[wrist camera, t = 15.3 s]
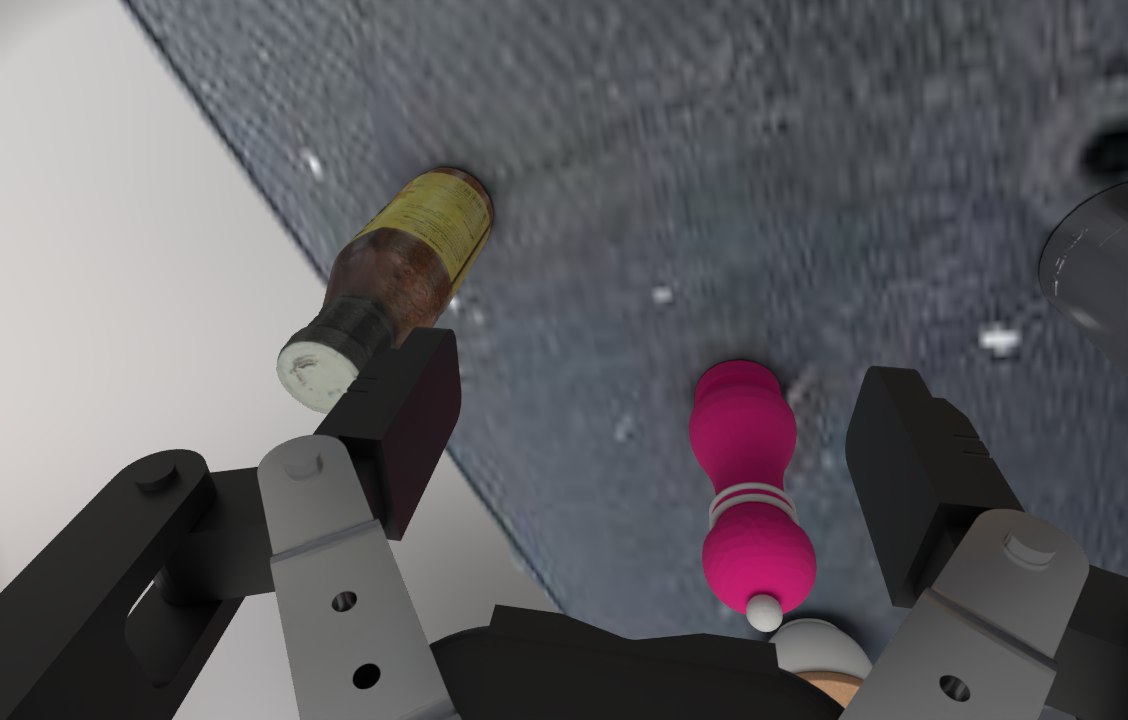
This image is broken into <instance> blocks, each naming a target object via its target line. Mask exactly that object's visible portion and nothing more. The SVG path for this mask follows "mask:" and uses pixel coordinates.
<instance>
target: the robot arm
mask: <svg viewBox="0 0 1128 720" xmlns="http://www.w3.org/2000/svg"><path fill="white" fill-rule="evenodd" d="M1039 279H1040V283H1041V287H1042V290H1043V292H1044V294H1045V296H1046V297H1047V299H1048V301H1049V302H1051V303H1052V304H1053V305H1054V306H1055V307H1056V308H1057V309H1058V310H1059V311H1060V312H1061V313H1062V314H1063V315H1064V316H1065V317H1066V318H1067V319H1068V320H1069V321H1070V322H1071V323H1072V324H1073V325H1074V326H1075V327H1076V328H1077V329H1078V330H1079V331H1080V332H1081V333H1082V334H1083V335H1084V336H1085V337H1086V338H1087V339H1088V340H1089V341H1090V342H1091V343H1092V344H1093V345H1094V346H1095V347H1096V348H1097V349H1098V350H1099V351H1101V352H1102V353H1103V354H1104V355H1105V356H1106V357H1107V358H1108V359H1109V360H1110V361H1111V362H1112V363H1113V364H1114V365H1115V366H1116V367H1117V368H1118V369H1119V370H1120V371H1121V372H1122V373H1123V374H1124V375H1125V376H1126V377H1127V378H1128V183H1125V184H1122V185H1119V186H1116V187H1114V188H1112V189H1109V190H1107V191H1105V192H1103V193H1101V194H1099V195H1097V196H1095V197H1094V198H1092V199H1091V200H1089V201H1087V202H1086V203H1084V204H1083V205H1081V206H1080V207H1079V208H1078V209H1076V210H1075V211H1074V212H1073V213H1072V214H1071V215H1069V216H1068V217H1067V218H1066V219H1065V220H1064V221H1063V222H1062V224H1061V225H1060V226H1059V227H1058V228H1057V230H1056V231H1055V232H1054V233H1053V235H1052V236H1051V238H1050V240H1049V242H1048V243H1047V245H1046V247H1045V249H1044V252H1043V255H1042V258H1041V261H1040V271H1039ZM460 408H461V384H460V374H459V364H458V354H457V344H456V337H455V334H454V331H453V330H451V329H441V328H430V327H418V326H417V327H414V328H413V329H412V331H411V332H410V334H409V335H408V337H407V338H406V339H405V341H404V342H403V344H402V345H401V346H400V348H399V349H394V348H388V349H386V350H385V351H383V352H381V353H380V354H378V355H377V356H375V357H374V358H372V359H370V360H369V361H368V362H367V363H366V365H365V366H364V367H363V369H362V370H361V371H360V372H359V374H358V375H357V376H356V380H353V382H352V383H351V384H350V386H349V387H348V388H347V392H346V393H344V394H343V395H342V396H341V398H340V399H339V400H338V402H337V403H336V404H335V405H334V407H333V408H332V409H331V411H330V412H329V413H328V415H327V416H326V417H325V419H324V420H323V421H322V423H321V424H320V425H319V427H318V428H317V429H316V431H315V432H314V433H313V435H307V436H301V437H298V438H294V439H291V440H288V441H286V442H284V443H282V444H280V445H278V446H277V447H275V448H274V449H272V450H271V451H270V452H269V453H268V454H266V456H265V457H264V458H263V459H262V461H261V462H260V464H259V466H258V467H253V468H245V469H237V470H228V471H221V472H212V473H210V471H209V469H208V466H207V464H206V461H205V459H204V458H203V457H202V456H201V455H200V454H198V453H197V452H194V451H191V450H184V449H175V450H166V451H161V452H158V453H154V454H151V455H148V456H146V457H143V458H141V459H139V460H137V461H135V462H133V463H131V464H130V465H128V466H127V467H125V468H124V469H123V470H121V471H120V472H119V473H118V474H117V475H116V476H115V477H114V478H113V479H112V480H111V481H110V482H109V483H108V484H107V485H106V486H105V487H104V488H103V489H102V490H101V491H100V492H99V493H98V494H97V495H96V496H95V497H94V498H93V499H92V500H91V501H90V502H89V503H88V504H87V505H86V506H85V508H83V510H81V512H79V513H78V514H77V515H76V517H75V518H74V519H73V520H72V521H71V522H70V523H69V524H68V525H67V526H66V527H65V528H64V529H63V530H62V531H61V532H60V533H59V534H58V535H57V536H56V537H55V538H54V539H53V540H52V541H51V542H50V543H49V544H48V545H47V546H46V547H45V548H44V549H43V550H42V551H41V552H40V553H39V554H38V555H37V556H36V557H35V558H34V559H33V560H32V562H30V564H28V566H27V567H26V568H24V569H23V571H22V572H21V573H20V574H19V575H18V576H17V577H16V578H15V579H14V580H13V581H12V582H11V583H10V584H9V585H8V586H7V587H6V588H5V589H4V590H3V591H2V592H1V593H0V720H172V718H173V717H174V715H175V713H176V712H177V710H178V708H179V707H180V705H181V703H182V702H183V700H184V698H185V697H186V695H187V693H188V692H189V690H190V688H191V687H192V685H193V683H194V682H195V680H196V678H197V677H198V675H199V673H200V672H201V670H202V668H203V667H204V665H205V663H206V662H207V660H208V658H209V657H210V655H211V653H212V652H213V650H214V648H215V647H216V645H217V643H218V642H219V640H220V638H221V636H222V635H223V633H224V631H225V630H226V628H227V627H228V625H229V623H230V622H231V620H232V618H233V616H234V615H235V613H236V612H237V610H238V608H239V607H240V605H241V603H242V601H243V600H244V598H245V597H246V596H250V595H256V594H262V593H269V592H276V597H277V602H278V607H279V612H280V617H281V623H282V627H283V633H284V638H285V643H286V648H287V654H288V659H289V664H290V669H291V674H292V680H293V685H294V689H295V695H296V701H297V706H298V711H299V716H300V720H1038V717H1039V715H1040V712H1041V710H1042V707H1043V705H1044V704H1046V705H1048V706H1051V707H1053V708H1055V709H1058V710H1060V711H1063V712H1065V713H1068V714H1070V715H1073V716H1075V717H1076V719H1077V720H1128V577H1125V576H1122V575H1118V574H1115V573H1112V572H1109V571H1106V570H1103V569H1100V568H1098V567H1095V566H1092V565H1089V562H1088V560H1087V557H1086V555H1085V553H1084V552H1083V550H1082V549H1081V548H1080V546H1079V545H1078V544H1077V543H1076V542H1075V541H1074V540H1073V539H1072V538H1071V537H1070V536H1069V535H1067V534H1066V533H1065V532H1063V531H1062V530H1061V529H1059V528H1058V527H1056V526H1054V525H1053V524H1051V523H1049V522H1047V521H1045V520H1043V519H1041V518H1039V517H1036V516H1034V515H1031V514H1028V513H1025V511H1024V509H1023V508H1022V506H1021V505H1020V503H1019V501H1018V500H1017V498H1016V496H1015V495H1014V493H1013V491H1012V490H1011V488H1010V486H1009V485H1008V483H1007V482H1006V480H1005V478H1004V477H1003V475H1002V473H1001V472H1000V470H999V468H998V467H997V465H996V463H995V462H994V460H993V459H992V458H989V455H990V454H989V452H988V450H987V449H986V447H985V445H984V444H983V442H982V441H979V438H980V437H979V436H978V434H977V432H976V431H975V429H974V427H973V426H972V424H971V422H970V421H969V419H968V418H967V417H966V416H965V415H964V414H963V413H962V412H960V411H959V410H958V409H957V408H955V407H954V406H953V405H952V404H950V403H949V402H948V401H947V400H946V399H943V398H933V397H932V395H931V394H930V392H929V390H928V388H927V386H926V385H925V383H924V381H923V379H922V378H921V376H920V374H919V373H918V371H917V370H915V369H905V368H893V367H881V366H871V367H870V368H869V369H868V370H867V372H866V374H865V377H864V380H863V383H862V386H861V390H860V393H859V396H858V399H857V402H856V405H855V409H854V412H853V415H852V418H851V421H850V424H849V428H848V431H847V436H846V444H845V453H846V461H847V465H848V468H849V471H850V474H851V477H852V480H853V484H854V487H855V490H856V493H857V496H858V499H859V502H860V505H861V508H862V512H863V515H864V518H865V521H866V524H867V527H868V530H869V533H870V536H871V540H872V543H873V546H874V549H875V552H876V555H877V558H878V561H879V565H880V568H881V571H882V574H883V577H884V580H885V583H886V586H887V589H888V593H889V596H890V599H891V602H892V605H893V606H896V607H904V608H911V611H910V612H909V614H908V615H907V617H906V618H905V620H904V621H903V623H902V624H901V626H900V627H899V629H898V630H897V632H896V633H895V635H894V636H893V638H892V639H891V641H890V642H889V644H888V645H887V647H886V648H885V650H884V651H883V653H882V654H881V656H880V657H879V659H878V660H877V662H876V663H875V665H874V666H873V668H872V669H871V671H870V672H869V674H868V675H867V677H866V678H865V680H864V681H863V683H862V684H861V686H860V687H859V689H858V690H857V692H856V693H855V695H854V696H853V698H852V699H851V701H850V702H849V704H848V705H847V707H846V708H844V707H843V706H842V705H841V704H840V703H838V702H837V701H836V700H834V699H833V698H832V697H831V696H829V695H828V694H827V693H825V692H824V691H823V690H821V689H820V688H818V687H816V686H815V685H813V684H812V683H810V682H808V681H807V680H805V679H803V678H801V677H799V676H797V675H795V674H793V673H791V672H789V671H787V670H784V669H782V668H779V666H778V659H777V651H776V644H775V643H770V642H763V641H756V640H749V639H741V638H734V637H727V636H720V635H712V634H705V633H702V634H691V635H681V636H671V637H661V638H650V639H640V640H631V639H626V638H623V637H620V636H618V635H615V634H613V633H610V632H607V631H605V630H602V629H600V628H597V627H595V626H592V625H589V624H587V623H584V622H582V621H579V620H577V619H574V618H571V617H569V616H566V615H564V614H561V613H554V612H546V611H538V610H532V609H525V608H517V607H510V606H503V605H495V608H494V612H493V615H492V618H491V622H490V625H489V626H483V627H477V628H472V629H468V630H464V631H460V632H457V633H454V634H452V635H449V636H446V637H444V638H442V639H440V640H438V641H436V642H433V643H431V644H430V645H429V644H428V641H427V639H426V636H425V634H424V631H423V629H422V626H421V624H420V621H419V619H418V616H417V614H416V611H415V609H414V606H413V604H412V601H411V598H410V596H409V593H408V591H407V588H406V586H405V583H404V581H403V578H402V576H401V573H400V571H399V568H398V566H397V563H396V561H395V558H394V556H393V553H392V551H391V548H390V546H389V543H388V541H387V539H389V540H397V541H401V539H402V537H403V535H404V533H405V530H406V528H407V526H408V524H409V522H410V520H411V518H412V516H413V514H414V512H415V510H416V507H417V505H418V503H419V501H420V499H421V497H422V495H423V493H424V490H425V488H426V486H427V484H428V482H429V480H430V478H431V476H432V474H433V471H434V469H435V467H436V465H437V463H438V461H439V459H440V457H441V455H442V452H443V450H444V448H445V446H446V444H447V442H448V440H449V438H450V436H451V433H452V431H453V429H454V427H455V425H456V423H457V420H458V417H459V413H460ZM152 580H153V581H154V583H153V585H152V586H151V587H150V589H149V590H148V591H147V592H146V594H145V595H144V596H143V598H142V599H141V600H140V602H139V603H138V604H137V606H136V607H135V608H134V610H133V611H132V612H131V614H130V615H129V616H128V614H129V612H130V610H131V608H132V606H133V605H134V604H135V602H136V601H137V600H138V598H139V597H140V596H141V594H142V593H143V592H144V590H145V589H146V588H147V586H148V585H149V584H150V583H151V581H152ZM127 617H128V618H127Z"/></svg>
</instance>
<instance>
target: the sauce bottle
mask: <svg viewBox="0 0 1128 720" xmlns="http://www.w3.org/2000/svg"><path fill="white" fill-rule="evenodd" d="M492 220H493V210H492V204H491V201H490V199H489V197H488V195H487V194H486V192H485V191H484V189H483V187H482V186H481V185H480V184H479V182H478V181H477V180H476V179H474V178H473V177H471V176H470V175H469V174H467V173H464V172H462V171H460V170H458V169H452V168H445V167H442V168H436V169H433V170H430V171H429V172H427V173H425V174H423V175H421V176H419V177H417V178H415V179H413V180H412V181H410V182H409V183H408V184H407V185H406V186H405V188H404V189H403V190H402V191H401V192H399V193H398V194H397V196H396V197H395V198H394V199H393V200H392V201H391V202H390V203H388V204H387V206H385V207H384V208H383V209H382V210H381V211H380V212H379V214H378V215H377V216H376V217H374V218H373V219H372V220H371V221H370V222H369V223H368V224H367V225H366V226H365V227H364V229H363V230H362V231H361V232H360V233H358V234H357V235H356V236H355V237H354V238H353V239H352V240H351V241H350V242H349V243H348V245H347V246H346V247H345V248H344V249H343V250H342V251H341V252H340V253H339V255H338V256H337V258H336V260H335V262H334V264H333V267H332V270H331V274H330V279H329V283H328V287H327V291H326V295H325V299H324V303H323V307H322V309H321V311H320V312H319V315H318V316H316V317H315V318H314V320H313V321H312V322H311V323H309V325H308V326H307V327H305V328H303V329H301V330H300V331H298V332H297V333H295V334H294V335H293V336H292V337H291V338H290V340H289V341H288V342H287V344H286V345H285V346H284V347H283V348H282V349H281V352H280V354H279V356H278V360H277V373H278V377H279V379H280V381H281V384H282V385H283V386H284V387H285V389H286V390H287V391H288V392H289V393H290V394H291V395H292V397H294V398H295V399H296V400H298V401H299V402H301V403H302V404H303V405H305V406H306V407H308V408H310V409H312V410H314V411H317V412H321V413H324V414H328V413H329V412H330V411H331V409H332V408H333V407H334V405H335V404H336V403H337V402H338V400H339V399H340V398H341V396H342V395H343V394H344V393H346V392H347V388H348V387H349V386H350V384H351V383H352V382H353V380H356V376H357V375H358V374H359V372H360V371H361V370H362V369H363V367H364V366H365V365H366V363H367V362H368V361H369V360H370V359H372V358H374V357H375V356H377V355H378V354H380V353H381V352H383V351H385V350H386V349H388V348H394V349H399V348H400V346H401V345H402V344H403V342H404V341H405V339H406V338H407V337H408V335H409V334H410V332H411V331H412V329H413V328H414V327H417V326H418V327H430V328H433V326H434V325H435V323H436V321H437V320H438V318H439V316H440V315H441V314H443V312H444V311H445V310H446V309H447V307H448V305H449V304H450V302H451V300H452V299H453V297H454V295H455V294H456V292H457V290H458V288H459V287H460V285H461V283H462V282H463V280H464V278H465V277H466V275H467V273H468V271H469V270H470V268H471V266H472V265H473V263H474V261H475V260H476V258H477V256H478V255H479V253H480V251H481V250H482V248H483V246H484V245H485V243H486V241H487V239H488V236H489V233H490V228H491V225H492Z"/></svg>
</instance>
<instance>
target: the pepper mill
mask: <svg viewBox="0 0 1128 720" xmlns="http://www.w3.org/2000/svg"><path fill="white" fill-rule="evenodd" d="M689 435H690V442H691V446H692V449H693V452H694V454H695V456H696V458H697V460H698V462H699V464H700V465H701V466H702V468H703V469H704V470H705V472H706V473H707V474H708V476H709V477H710V479H711V481H712V483H713V485H714V488H715V493H716V497H715V498H714V500H713V501H712V503H711V505H710V509H709V518H710V525H709V527H710V532H709V534H708V535H707V536H706V539H705V541H704V544H703V552H702V563H703V569H704V573H705V577H706V579H707V582H708V584H709V586H710V588H711V589H712V591H713V592H714V593H715V595H716V596H717V597H718V598H719V599H720V600H721V601H722V602H723V603H725V604H726V605H727V606H729V607H730V608H732V609H734V610H736V611H738V612H741V613H743V614H747V618H748V620H749V622H750V623H751V625H752V626H753V627H755V628H756V629H758V630H759V631H763V632H770V631H773V630H775V629H777V628H778V627H779V625H780V624H781V622H782V619H783V614H784V613H787V612H789V611H790V610H792V609H794V608H796V607H797V606H798V605H800V604H801V603H802V602H803V601H804V600H805V599H806V597H807V596H808V594H809V593H810V591H811V589H812V587H813V585H814V582H815V578H816V556H815V552H814V549H813V546H812V544H811V541H810V539H809V537H808V536H807V534H806V533H805V531H804V530H803V529H802V528H801V527H799V522H798V518H797V512H796V507H795V505H794V502H793V501H792V499H791V498H790V497H789V496H788V495H787V494H786V493H785V492H784V488H783V476H784V471H785V469H786V467H787V465H788V464H789V462H790V460H791V458H792V455H793V452H794V448H795V444H796V436H797V433H796V423H795V418H794V414H793V412H792V410H791V408H790V407H789V405H788V403H787V402H786V401H785V400H784V399H783V398H782V394H781V390H780V386H779V383H778V381H777V379H776V377H775V376H774V375H773V374H772V373H771V372H770V371H769V370H768V369H766V368H765V367H763V366H761V365H759V364H757V363H754V362H749V361H743V360H737V361H728V362H724V363H721V364H718V365H716V366H714V367H713V368H711V369H709V370H708V371H707V372H706V373H705V374H704V375H703V376H702V377H701V379H700V380H699V382H698V384H697V387H696V390H695V408H694V410H693V412H692V414H691V417H690V422H689Z"/></svg>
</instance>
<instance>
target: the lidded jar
mask: <svg viewBox="0 0 1128 720" xmlns="http://www.w3.org/2000/svg"><path fill="white" fill-rule="evenodd" d="M768 642H770V643H775V644H776V651H777V659H778V666H779V668H782V669H784V670H787V671H789V672H791V673H793V674H795V675H797V676H799V677H801V678H803V679H805V680H807V681H808V682H810V683H812V684H813V685H815V686H816V687H818V688H820V689H821V690H823V691H824V692H825V693H827V694H828V695H829V696H831V697H832V698H833V699H834V700H836V701H837V702H838V703H840V704H841V705H842V706H843V707H844V708H846V707H847V705H848V704H849V702H850V701H851V699H852V698H853V696H854V695H855V693H856V692H857V690H858V689H859V687H860V686H861V684H862V683H863V681H864V680H865V678H866V677H867V675H868V674H869V672H870V671H871V669H872V668H873V666H872V664H871V662H870V660H869V658H868V657H867V655H866V653H865V652H864V651H863V649H862V648H861V647H860V646H859V645H858V643H856V642H855V641H854V640H853V639H852V638H851V637H850V636H848V635H847V634H845V633H844V632H842V631H841V630H839V629H838V628H837V627H836V626H835V625H833V624H831V623H829V622H827V621H824V620H820V619H814V618H802V619H796V620H793V621H790V622H788V623H786V624H784V625H783V626H781V627H780V628H779V630H778V631H777V633H776V634H775V635H774V636H773V637H772V638H771V639H770V640H769V641H768Z"/></svg>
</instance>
